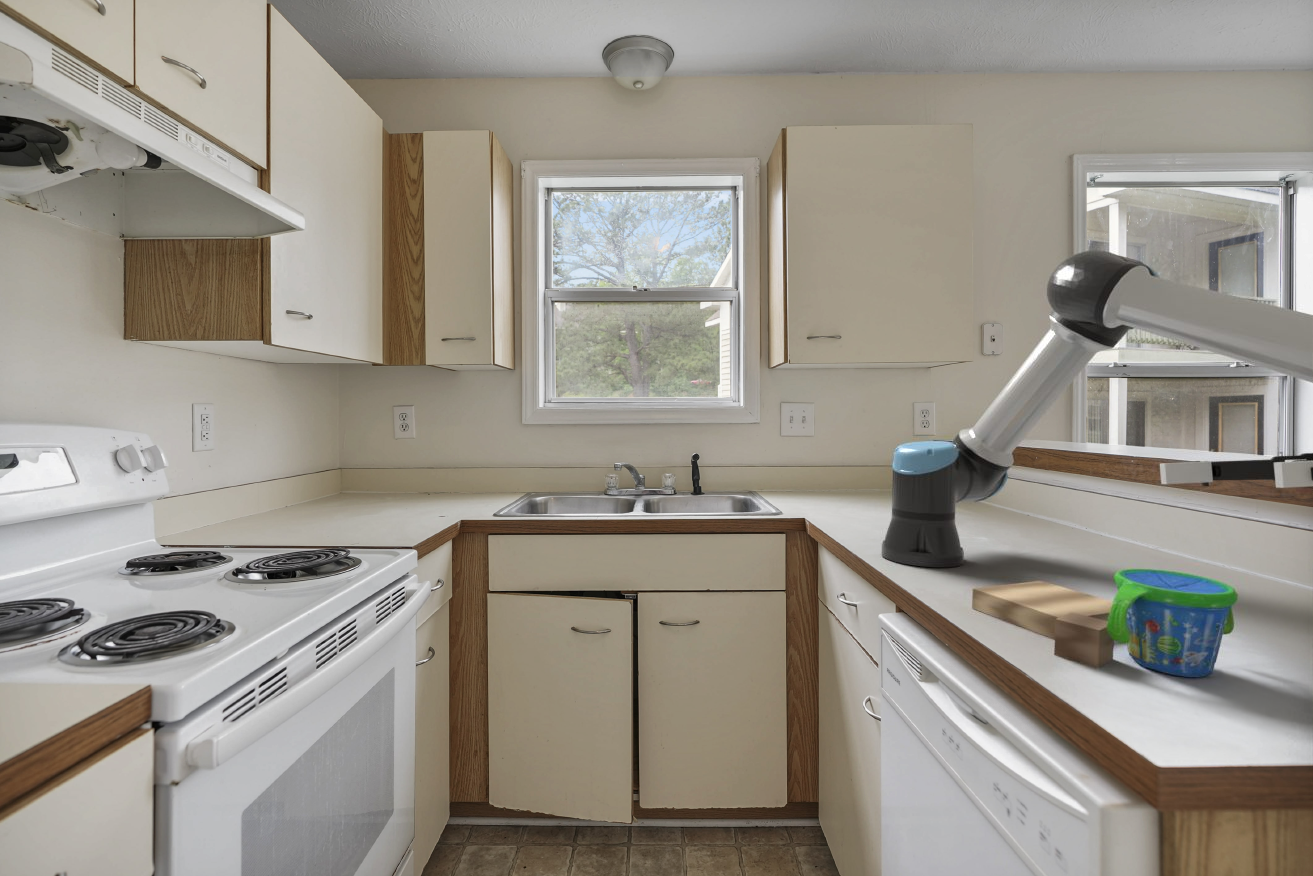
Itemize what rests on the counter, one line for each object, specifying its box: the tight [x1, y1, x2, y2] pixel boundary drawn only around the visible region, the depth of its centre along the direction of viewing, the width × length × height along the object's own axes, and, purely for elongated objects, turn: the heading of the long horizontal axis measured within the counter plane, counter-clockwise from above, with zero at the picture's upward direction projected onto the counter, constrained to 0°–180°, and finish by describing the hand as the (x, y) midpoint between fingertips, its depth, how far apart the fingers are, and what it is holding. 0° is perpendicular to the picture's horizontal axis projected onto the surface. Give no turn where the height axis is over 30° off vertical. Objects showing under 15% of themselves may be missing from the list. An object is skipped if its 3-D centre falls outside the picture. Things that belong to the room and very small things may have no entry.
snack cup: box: [1107, 568, 1239, 678], centre depth 70 cm, size 16×10×10 cm
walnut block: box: [1053, 612, 1115, 669], centre depth 72 cm, size 4×4×4 cm
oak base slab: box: [971, 580, 1113, 640], centre depth 86 cm, size 14×14×3 cm
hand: (1215, 474), depth 72 cm, fingers open, 13 cm apart
